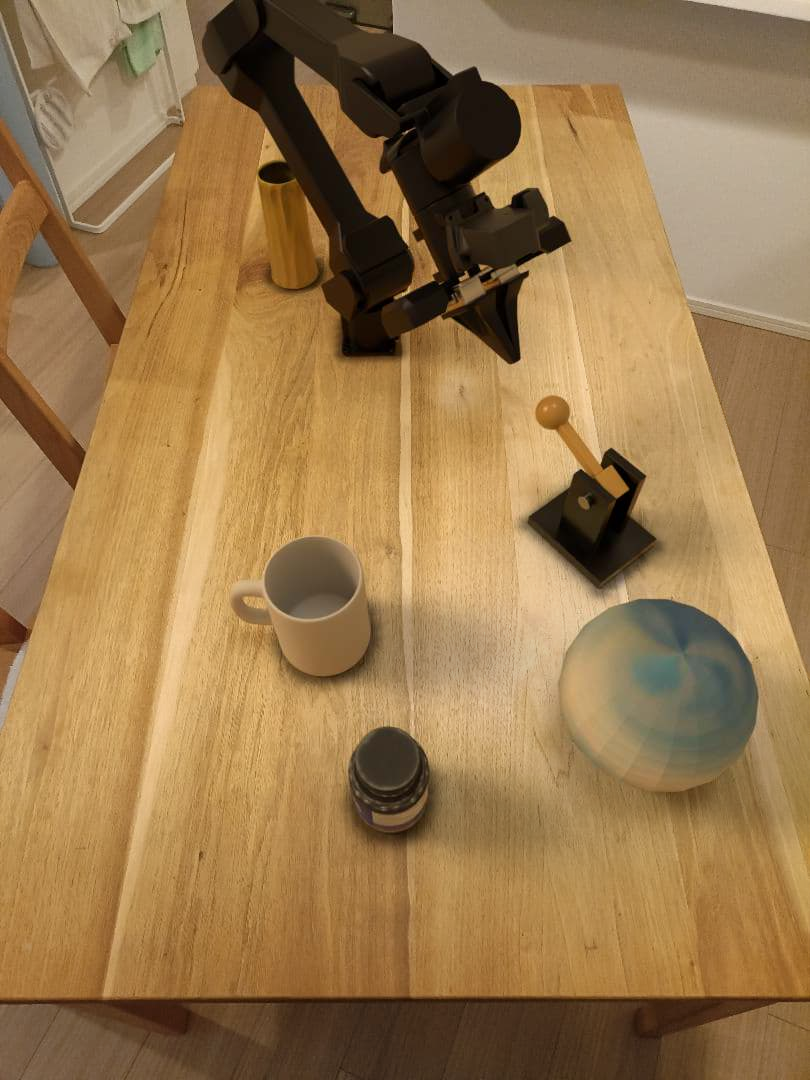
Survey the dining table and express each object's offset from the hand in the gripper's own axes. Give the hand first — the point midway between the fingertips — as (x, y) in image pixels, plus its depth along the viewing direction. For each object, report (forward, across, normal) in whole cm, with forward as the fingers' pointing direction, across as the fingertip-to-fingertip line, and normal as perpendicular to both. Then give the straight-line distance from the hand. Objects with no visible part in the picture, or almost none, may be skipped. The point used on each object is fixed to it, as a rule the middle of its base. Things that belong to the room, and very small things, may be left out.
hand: (515, 362), depth 72 cm
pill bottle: (+25, -32, -5) cm, 41 cm away
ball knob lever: (+10, 0, -2) cm, 10 cm away
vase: (-18, 0, +38) cm, 42 cm away
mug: (+13, -29, +7) cm, 32 cm away
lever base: (+19, 0, 0) cm, 19 cm away
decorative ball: (+31, -12, -11) cm, 35 cm away
